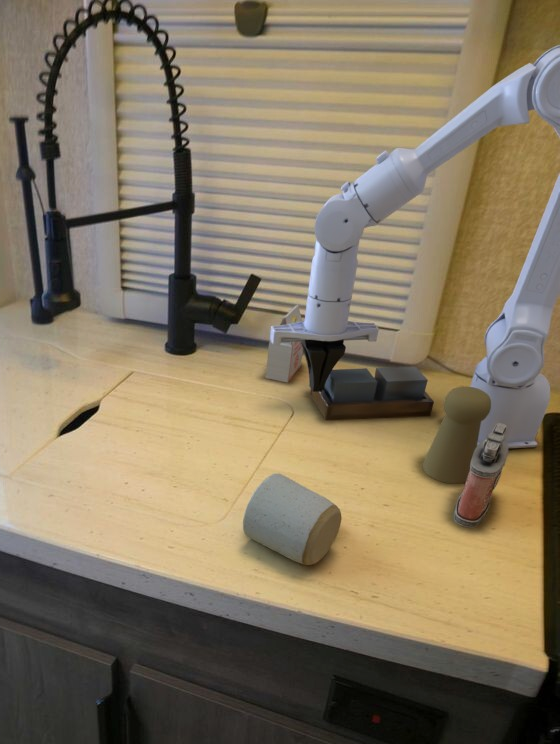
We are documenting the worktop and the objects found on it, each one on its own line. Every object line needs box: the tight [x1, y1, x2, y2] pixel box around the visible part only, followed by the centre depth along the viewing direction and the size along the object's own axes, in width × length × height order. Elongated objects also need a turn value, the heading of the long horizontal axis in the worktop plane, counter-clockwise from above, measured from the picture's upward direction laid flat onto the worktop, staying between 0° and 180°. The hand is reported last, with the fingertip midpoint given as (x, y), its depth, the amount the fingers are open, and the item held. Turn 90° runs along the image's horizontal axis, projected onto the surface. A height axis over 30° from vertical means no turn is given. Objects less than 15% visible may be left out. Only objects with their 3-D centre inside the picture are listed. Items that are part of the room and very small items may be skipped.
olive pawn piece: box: [422, 385, 491, 485], centre depth 81 cm, size 6×6×11 cm
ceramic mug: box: [242, 472, 342, 566], centre depth 70 cm, size 11×8×8 cm
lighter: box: [453, 423, 509, 528], centre depth 75 cm, size 8×3×10 cm, turn 148°
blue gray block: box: [324, 367, 377, 403], centre depth 96 cm, size 6×4×4 cm
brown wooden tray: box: [309, 366, 435, 421], centre depth 97 cm, size 16×8×5 cm, turn 96°
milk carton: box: [265, 304, 304, 384], centre depth 104 cm, size 4×7×10 cm, turn 154°
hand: (315, 388), depth 96 cm, fingers closed
